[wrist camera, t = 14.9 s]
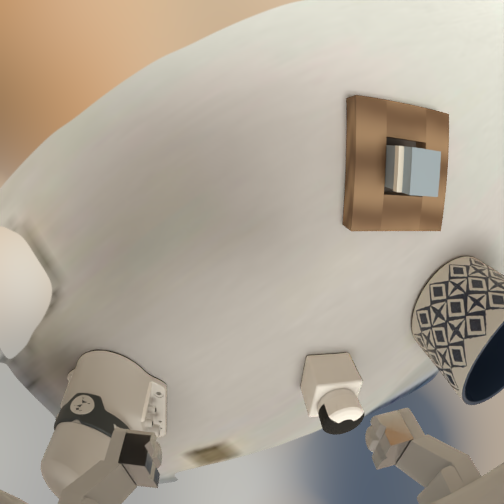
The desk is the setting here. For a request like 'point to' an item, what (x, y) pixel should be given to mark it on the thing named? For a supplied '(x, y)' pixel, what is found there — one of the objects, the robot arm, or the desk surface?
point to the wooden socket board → (374, 163)
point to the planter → (464, 327)
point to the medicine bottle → (332, 391)
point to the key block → (412, 170)
